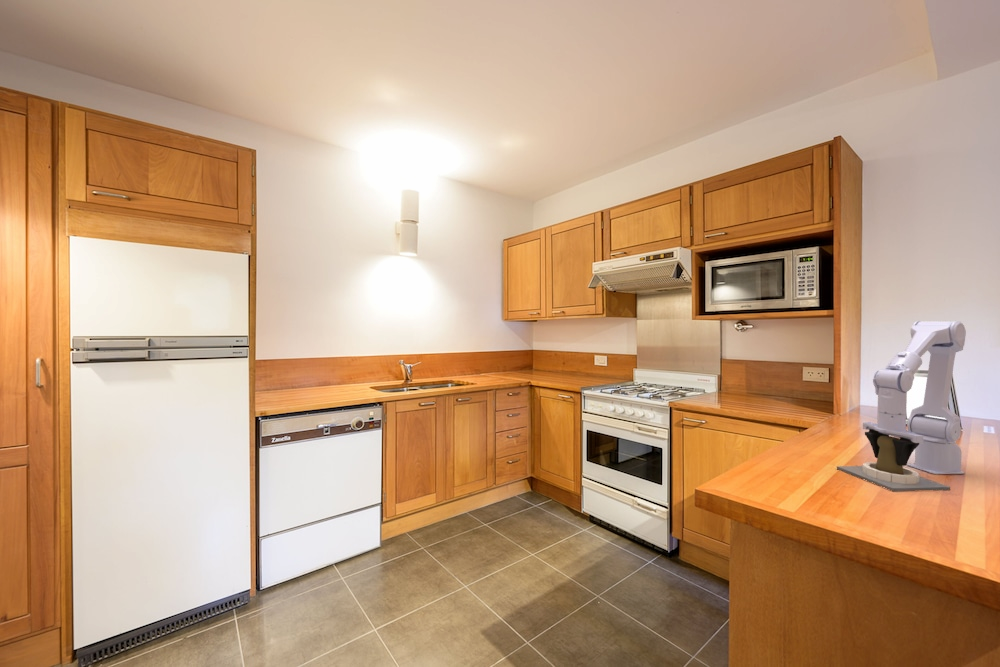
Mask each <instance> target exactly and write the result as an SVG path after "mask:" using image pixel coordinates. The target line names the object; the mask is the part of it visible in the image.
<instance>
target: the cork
mask: <svg viewBox="0 0 1000 667" xmlns="http://www.w3.org/2000/svg"><path fill="white" fill-rule="evenodd" d="M892 439H900V438H898V437H894V436H891V435H889V436H880V437H879V438H878V440H877V443H878V445H879V447H880V449H879V454H878V458H876V462H877V463H876V468H875V469H876V470H879V471H883V472H888V473H893V474H900V475H904V472H903V467H904V466H899V465H897V463H896V450H895V446H894V443H893V441H892Z"/></svg>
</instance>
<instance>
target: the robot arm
mask: <svg viewBox="0 0 1000 667" xmlns="http://www.w3.org/2000/svg"><path fill="white" fill-rule="evenodd" d="M909 333H910V337H911V339H910V341H909V342H908V344H907V346H906V348H905V350H904V351H899V352H897V353H896V354H895V355H894V357H893V358H892V359H891V360H890V361H889V363H888V364H887V365H886V366H885V368H882V369H879V370H876V372H875V373H874V375H873V378H872V383H873V386H874V390H875V392H874V393H875V395H877V414H876V415H877V418H876V419H877V422H876V423H874V422H870V421H869V422H867V421H863V422H862V429H863V430H868V431H865V432H864V436H865V437H866V438H867V439H868V442H869V444H870V446H871V448H872V451H873V455H874V458H876V459H877V458H878V454H879V449H880V447H879V445H878V443H877V440H878V438H879V437H880V436H891V437H896V438H899V439H892V441H893V443H894V446H895V450H896V463H897V465H899V466H903V467H905V466H909V467H911V468H914V469H916V470H921V471H922V472H923V471H924V472H926V473H930V474H933V475H957V474H958V475H960V474H963V475H964V474H965V473H966V472H965V471H962V453H963V452H962V450H961V447H960V445H959V444H958V443H956V442H957V441H959V439H960V438H961V435H962V426H961V418H960V416H959V415H957V414H956V413H955V412H953V411H952V410H951V409H950V408H949V400H950V393H951V386H952V381H953V380H952V378H953V371H954V365H955V358H956V353H959V352H962V351H963V350H964V347H965V342H966V335H967V331H966V328H965V325H964V324H963V322H962V321H960V320H953V321H951V320H950V321H948V320H947V321H946V320H945V321H944V320H943V321H941V320H940V321H939V320H938V321H937V320H936V321H934V320H933V321H931V320H929V321H928V320H927V321H925V320H923V321H922V320H916V321H915V322H914V323H912V325H911V327H910V332H909ZM927 351H928V353H929V354H930V357H929V362H928V363H929V364H928V369H927V376H926V384H925V390H924V391H925V392H924V397H923V404H922V405H921V406H918V407H916V408H912V410H911V412H910V415H909V417H908V419H907V402H908V401H907V399H908V398H907V397H908V396H907V395H908V392H909V391H910V390H911V389H912V387H913V382H914V380H915V375H916V372H917V371H918V370H919V368H920V367H921V365H922V364H923V359H922V357H923V355H925V354H926V353H927ZM913 452H914V463H913V462H910V463H909V459H910V457H911V455H912V454H913Z"/></svg>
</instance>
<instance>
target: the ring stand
mask: <svg viewBox="0 0 1000 667" xmlns="http://www.w3.org/2000/svg"><path fill="white" fill-rule="evenodd" d="M876 463H877V461H867V462H864V463H862V465H845V466H844V465H843V466H842V465H838V466H836V470H838V471H840V470H841V471H840V472H843V473H846V474H849V475H850V474H851V476H852V477H855V476H856V478H858V477H859V479H860V478H862V479H861V480H863V479H865V480H867V481H866V482H868V481H870V482H873V483H875V484H878V485H880V486H882V487H881V488H883V487H885V488H887V489H886V490H888V489H890V490H892V491H891V492H916V491H915V490H933V491H951V486H948V485H945V484H943V483H940V482H937V481H934V480H931V479H928V478H925V477H923V476H921V475H920V473H919V472H917V471H915V470H914V469H911V468H908V467H905V466H903V472H904V475H900V474H893V473H888V472H883V471H879V470H876V469H875V468H876ZM865 480H864V481H865ZM870 482H869V483H870ZM873 483H872V484H873ZM875 484H874V485H875ZM878 485H877V486H878ZM880 486H879V487H880ZM885 488H884V489H885ZM890 490H889V491H890Z"/></svg>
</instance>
